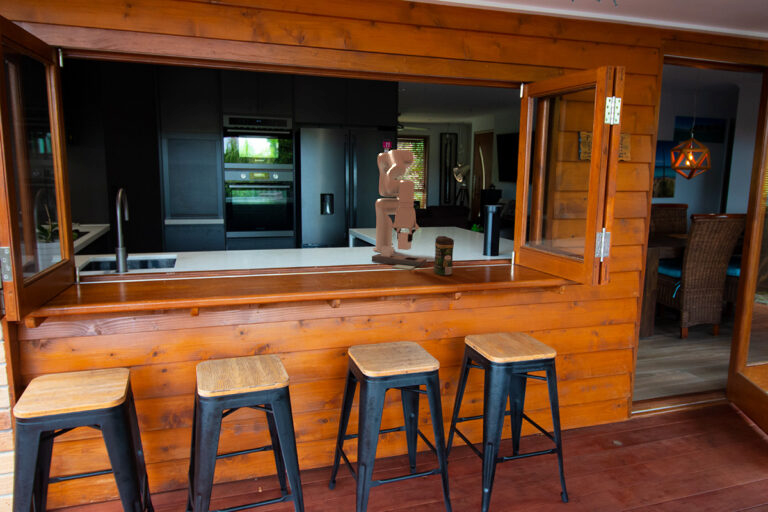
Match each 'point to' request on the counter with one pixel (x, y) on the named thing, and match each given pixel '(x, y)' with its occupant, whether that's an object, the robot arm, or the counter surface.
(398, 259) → the board with square holes
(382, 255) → the brown wooden block
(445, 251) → the coffee jar
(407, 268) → the mat
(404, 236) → the pale pink rectangular block
